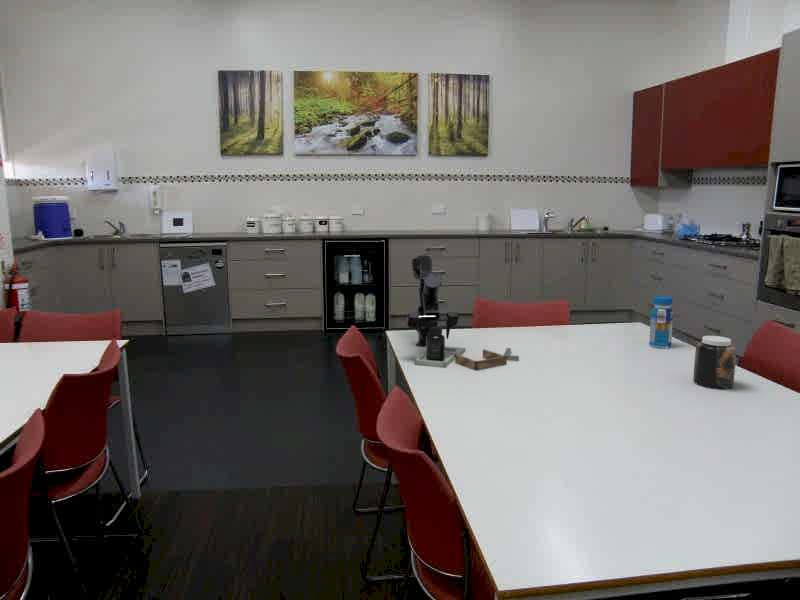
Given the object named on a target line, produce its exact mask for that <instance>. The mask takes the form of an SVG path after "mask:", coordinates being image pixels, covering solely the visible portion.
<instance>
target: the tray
mask: <svg viewBox="0 0 800 600" xmlns="http://www.w3.org/2000/svg"><path fill="white" fill-rule="evenodd" d="M454 361H455V355H452V354H445V360H444V361H431V360H427V359H426V351H424V352H423V353H421V354H420V355H419V356H418V357H417V358H415V359H414V365H416V366H424V367H425V366H426V367H436V368H447V367H448V366H449V365H450V364H451V363H452V362H454Z"/></svg>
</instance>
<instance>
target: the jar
mask: <svg viewBox="0 0 800 600" xmlns="http://www.w3.org/2000/svg"><path fill="white" fill-rule="evenodd" d="M701 338H702V339H701V341H699V342H697V343H696V345H695V353H694V366H693V376H692V377H693V378H692V381H694V382H695V383H697V384H699V385H698V386H700V385H702V386H701V387H703V386H704V387H703V388H707V387H710V388H709V389H713V388H729V387H732V386H733V387H734V384H735V372H736V360H737V348H736V346H735V345H733V344H732V339H731V338H729V337H725V336H719V335H703V336H702V337H701ZM694 382H693V383H694ZM695 383H694V384H695ZM697 384H696V385H697ZM733 387H732V388H733Z"/></svg>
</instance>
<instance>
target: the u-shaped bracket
mask: <svg viewBox="0 0 800 600" xmlns="http://www.w3.org/2000/svg"><path fill="white" fill-rule="evenodd" d="M482 358H483V359H482V360H481V359H480V360H474V359H471V358H469V357H466V356H463V355H458V354H457V355H455V358H454V363H455V364H458V365H460V366H463V367H466V368H469V369H471V370H473V369H474V371H476V370H477V371H480V369H482V370H485V369H491V368H496V367H499V366H501V367H502V366H505V365H507V363H508V362H507V361H508V360H507V356H504V354H501V353H497V352H494V351H491V350H488V349H482Z"/></svg>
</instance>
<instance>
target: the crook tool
mask: <svg viewBox="0 0 800 600" xmlns="http://www.w3.org/2000/svg"><path fill="white" fill-rule="evenodd" d="M511 353H512V348H510V347H509V348H506V349H505V352H504V353H503V355H504V356H507V361H512V362H519V361H520V356H519V355H512V354H511Z"/></svg>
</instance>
